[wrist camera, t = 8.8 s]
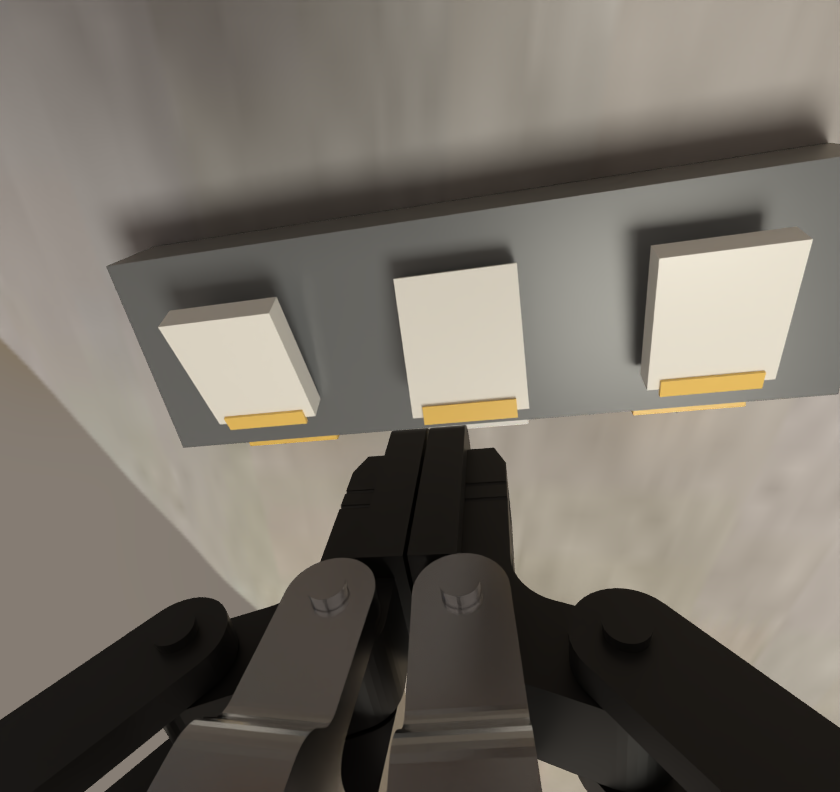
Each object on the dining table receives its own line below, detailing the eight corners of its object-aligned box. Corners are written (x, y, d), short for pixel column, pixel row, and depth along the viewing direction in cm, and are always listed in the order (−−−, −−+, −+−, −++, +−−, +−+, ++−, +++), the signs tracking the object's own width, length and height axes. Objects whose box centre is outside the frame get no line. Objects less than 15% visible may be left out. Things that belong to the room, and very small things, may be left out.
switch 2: (398, 277, 23) (392, 279, 22) (515, 262, 22) (516, 263, 21) (418, 416, 25) (413, 426, 23) (528, 407, 24) (530, 416, 23)
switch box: (153, 246, 28) (106, 266, 25) (829, 142, 23) (890, 148, 19) (219, 419, 33) (187, 456, 30) (791, 368, 28) (835, 406, 24)
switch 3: (651, 245, 20) (660, 260, 19) (796, 226, 19) (815, 241, 18) (639, 379, 24) (647, 398, 23) (761, 368, 23) (775, 387, 22)
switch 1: (169, 310, 23) (156, 329, 23) (276, 296, 23) (267, 315, 22) (230, 411, 28) (221, 430, 27) (322, 403, 27) (317, 422, 26)
